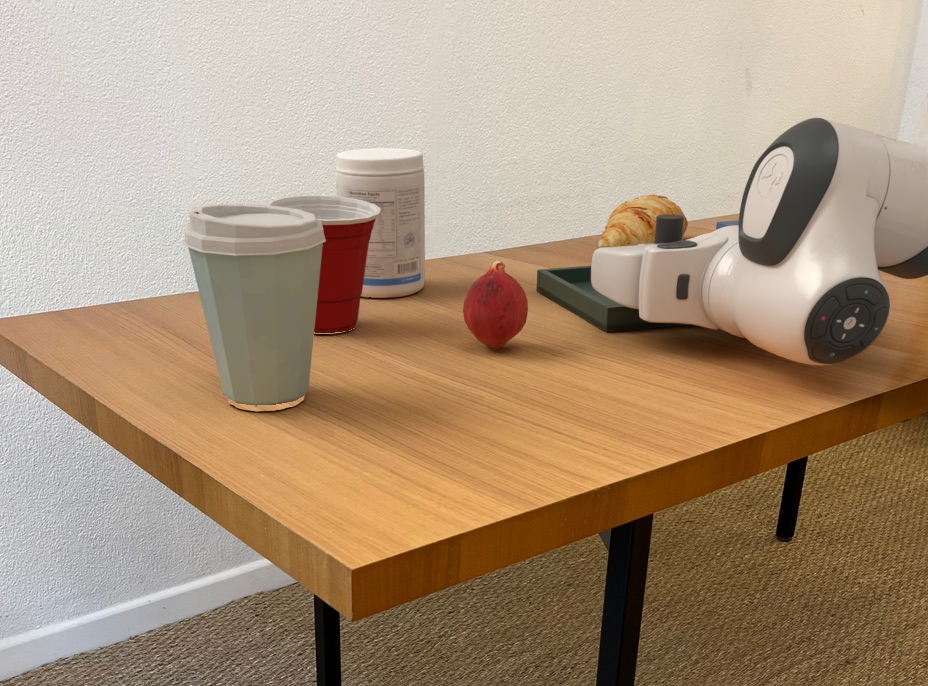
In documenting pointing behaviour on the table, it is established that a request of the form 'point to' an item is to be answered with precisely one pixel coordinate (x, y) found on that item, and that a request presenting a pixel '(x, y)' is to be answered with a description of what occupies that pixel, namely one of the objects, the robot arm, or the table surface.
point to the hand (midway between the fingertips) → (661, 250)
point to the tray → (587, 303)
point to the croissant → (637, 221)
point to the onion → (495, 307)
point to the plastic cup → (338, 255)
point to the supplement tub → (389, 216)
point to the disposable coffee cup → (258, 296)
